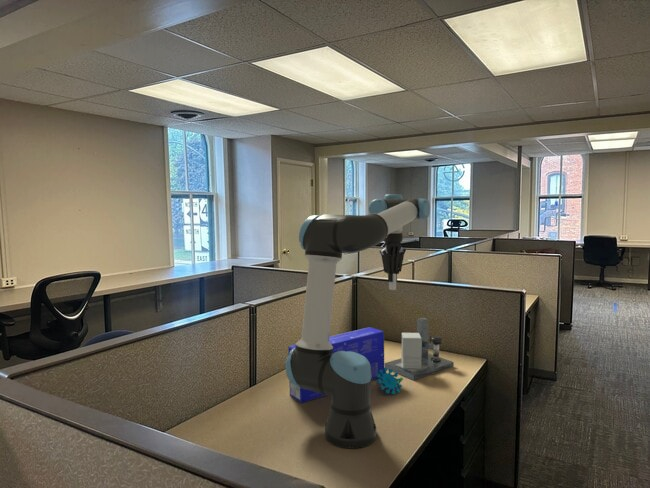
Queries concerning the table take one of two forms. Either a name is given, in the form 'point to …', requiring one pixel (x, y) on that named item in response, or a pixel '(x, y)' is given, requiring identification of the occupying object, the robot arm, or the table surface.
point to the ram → (436, 344)
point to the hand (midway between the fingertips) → (392, 289)
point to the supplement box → (411, 350)
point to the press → (427, 360)
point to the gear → (389, 381)
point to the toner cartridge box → (357, 341)
